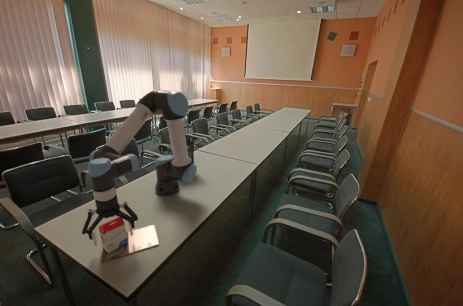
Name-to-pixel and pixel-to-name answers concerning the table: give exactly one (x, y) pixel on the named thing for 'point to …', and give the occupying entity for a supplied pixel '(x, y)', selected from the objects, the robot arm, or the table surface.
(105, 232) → the ink box
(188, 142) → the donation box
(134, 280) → the table surface
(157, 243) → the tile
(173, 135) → the robot arm
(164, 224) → the table surface
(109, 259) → the frame
